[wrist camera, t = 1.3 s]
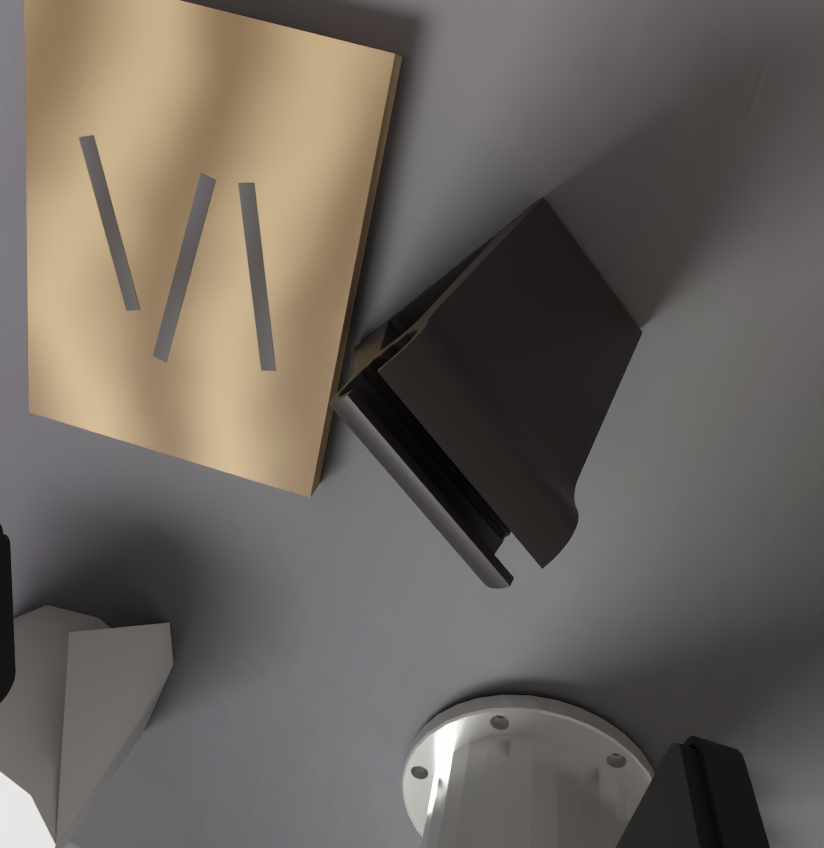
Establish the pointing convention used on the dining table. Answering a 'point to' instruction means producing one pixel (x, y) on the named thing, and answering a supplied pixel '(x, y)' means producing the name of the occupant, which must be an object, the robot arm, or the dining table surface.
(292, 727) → the dining table surface
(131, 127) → the marked board
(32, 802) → the toilet tissue
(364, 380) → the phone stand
